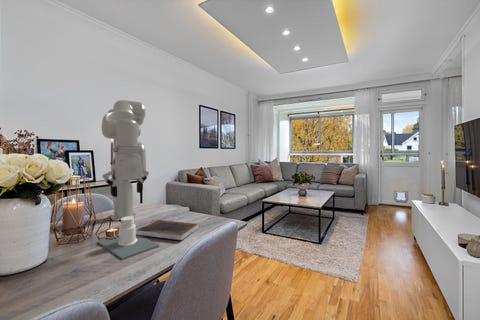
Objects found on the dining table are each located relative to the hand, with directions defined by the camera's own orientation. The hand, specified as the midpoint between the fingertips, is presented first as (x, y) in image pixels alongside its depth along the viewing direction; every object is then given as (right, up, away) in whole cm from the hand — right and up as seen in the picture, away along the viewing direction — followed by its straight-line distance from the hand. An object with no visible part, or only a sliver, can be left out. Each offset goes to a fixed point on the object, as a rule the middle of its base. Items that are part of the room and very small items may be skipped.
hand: (127, 194), depth 87 cm
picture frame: (+12, -20, +14) cm, 27 cm away
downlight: (-1, -20, +2) cm, 20 cm away
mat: (0, -20, +1) cm, 20 cm away
